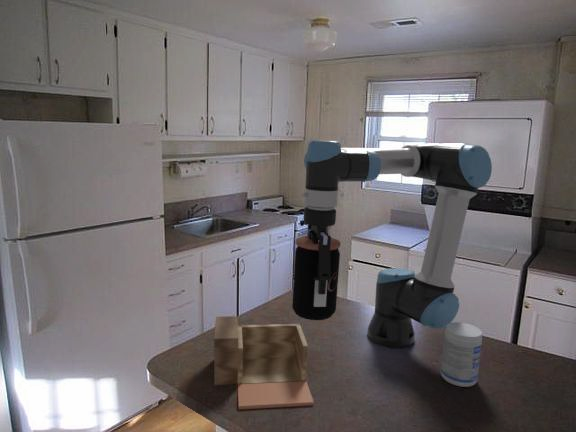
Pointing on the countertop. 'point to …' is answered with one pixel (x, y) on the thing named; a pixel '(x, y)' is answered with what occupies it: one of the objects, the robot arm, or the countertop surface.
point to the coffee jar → (305, 279)
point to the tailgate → (274, 395)
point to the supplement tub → (461, 354)
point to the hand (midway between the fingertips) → (314, 296)
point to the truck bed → (258, 352)
